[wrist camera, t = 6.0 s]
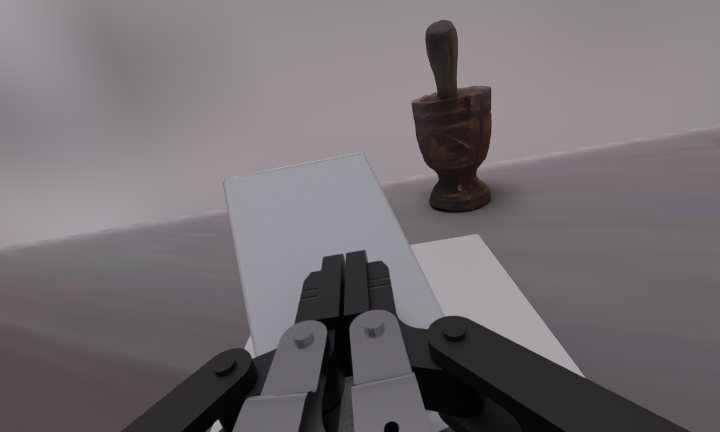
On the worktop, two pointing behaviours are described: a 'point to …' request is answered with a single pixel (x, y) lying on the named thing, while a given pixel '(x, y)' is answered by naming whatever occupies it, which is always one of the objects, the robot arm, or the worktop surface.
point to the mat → (480, 296)
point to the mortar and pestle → (453, 126)
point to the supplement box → (318, 245)
